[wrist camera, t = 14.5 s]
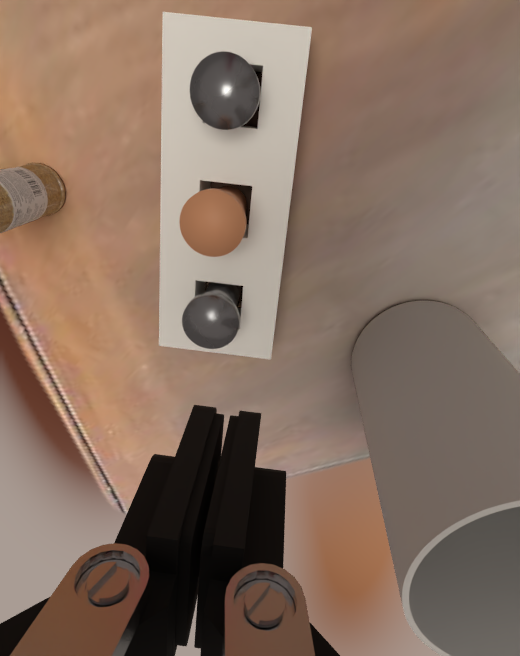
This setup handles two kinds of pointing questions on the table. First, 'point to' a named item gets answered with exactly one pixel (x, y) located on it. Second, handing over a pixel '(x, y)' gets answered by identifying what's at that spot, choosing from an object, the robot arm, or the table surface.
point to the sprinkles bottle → (28, 194)
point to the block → (229, 171)
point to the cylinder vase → (446, 473)
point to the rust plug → (214, 220)
